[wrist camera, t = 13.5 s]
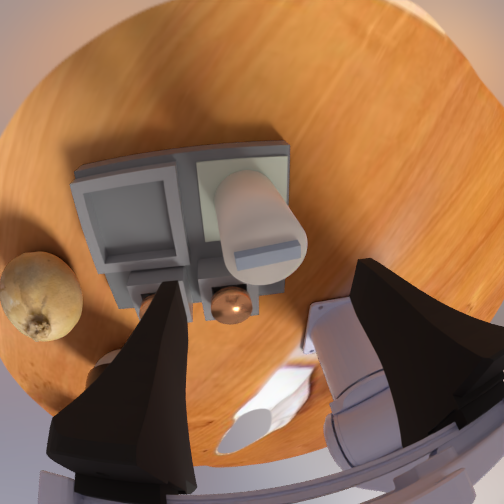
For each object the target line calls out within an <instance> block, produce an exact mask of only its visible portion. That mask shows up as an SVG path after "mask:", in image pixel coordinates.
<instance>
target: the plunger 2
mask: <svg viewBox="0 0 504 504" xmlns="http://www.w3.org/2000/svg"><path fill="white" fill-rule="evenodd" d="M220 287H221V289H220V290H218V291H217V292H216V293H215V294H214V295H213V296H212V298H211V314H212V316H213V318H214V319H215V320H217V321H218V322H220V323H223V324H237V323H240V322H243V321H244V320H246V319H247V318H248V317H249V316H250V315H251V313H252V310H253V306H252V301H251V297H250V295H249V293H248V292H247V291H245V290H244V289H242V288H239V287H237V285H229V286H220Z"/></svg>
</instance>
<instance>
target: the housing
mask: <svg viewBox="0 0 504 504" xmlns="http://www.w3.org/2000/svg"><path fill="white" fill-rule="evenodd" d="M241 170H253V171H257V172H260V173H262V174H264V175H265V176H266V177H268V178H269V179H270V181H271V182H272V183H273V185H274V186H275V188H276V189H277V191H278V192H279V194H280V195H281V196H282V198H283V199H284V201H285V202H286V204H287V205H289V172H290V145H289V144H288V143H287V142H286V141H284V140H275V141H252V142H235V143H222V144H211V145H201V146H191V147H183V148H175V149H167V150H160V151H153V152H147V153H141V154H135V155H129V156H124V157H118V158H113V159H108V160H103V161H98V162H94V163H89V164H85V165H82V166H80V167H79V168H78V169H77V170H76V171H74V174H75V180H74V181H73V182H72V183H70V188H71V192H72V195H73V199H74V203H75V206H76V210H77V213H78V216H79V220H80V223H81V226H82V229H83V232H84V235H85V238H86V241H87V244H88V247H89V250H90V253H91V256H92V258H93V261H94V264H95V267H96V269H97V272H98V274H104V273H105V276H106V278H107V281H108V283H109V286H110V289H111V291H112V293H113V296H114V298H115V301H116V303H117V305H118V308H119V309H125V308H135V310H136V312H137V315H138V317H139V312H140V306H141V303H142V301H143V299H144V298H146V297H147V296H149V295H153V294H154V293H156V292H157V290H158V288H159V286H160V284H161V283H162V282H164V281H175V280H178V282H179V287H180V291H181V295H182V299H183V303H184V307H185V311H186V315H187V322H193V303H198V302H202V304H203V310H204V315H205V320H206V321H208V320H215V319H214V318H213V316H212V314H211V298H212V296H213V295H214V294H215V293H216V292H217V291H218V290H220V289H221V287H220V286H229V285H237V287H239V288H242V289H244V290H245V291H247V292H248V293H249V295H250V297H251V301H252V306H253V310H252V313H251V315H250V316H253V315H259V296H261V295H269V294H277V293H284V288H285V279H283V280H281V281H278V282H275V283H272V284H267V285H252V284H247V283H244V282H242V281H240V280H238V279H236V278H235V277H234V276H233V275H232V274H231V273H230V272H229V271H228V269H227V267H226V265H225V262H224V257H223V252H222V246H221V240H220V234H219V229H218V223H217V217H216V211H215V204H214V197H215V192H216V190H217V187H218V186H219V184H220V183H221V182H222V181H223V180H224V179H225V178H226V177H227V176H229V175H230V174H232V173H234V172H237V171H241ZM139 320H140V317H139Z"/></svg>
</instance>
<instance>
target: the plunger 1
mask: <svg viewBox="0 0 504 504" xmlns="http://www.w3.org/2000/svg"><path fill="white" fill-rule="evenodd" d="M155 294H156V293H154V294H153V295H149V296H147V297H146V298H144V299H143V301H142V303H141V306H140V312H139V317H140V320H141V318H142V317H143V315H144V313H145V312H146V310H147V308H148V306H149V305H150V303H151V301H152V299H153V297H154V295H155Z"/></svg>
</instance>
